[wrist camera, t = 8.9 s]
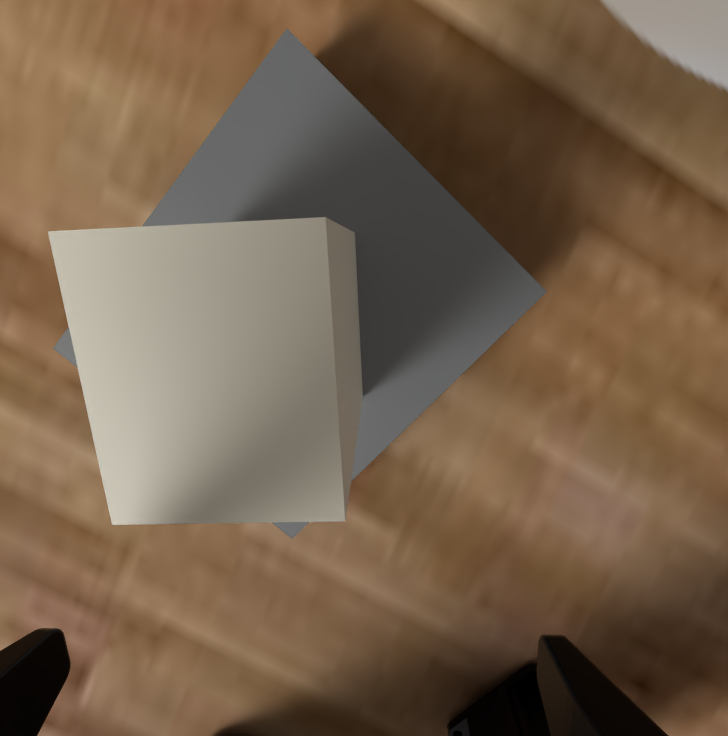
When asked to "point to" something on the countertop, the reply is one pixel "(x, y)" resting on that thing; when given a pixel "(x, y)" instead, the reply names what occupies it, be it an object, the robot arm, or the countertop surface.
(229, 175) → the podium
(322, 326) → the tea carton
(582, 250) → the countertop surface
